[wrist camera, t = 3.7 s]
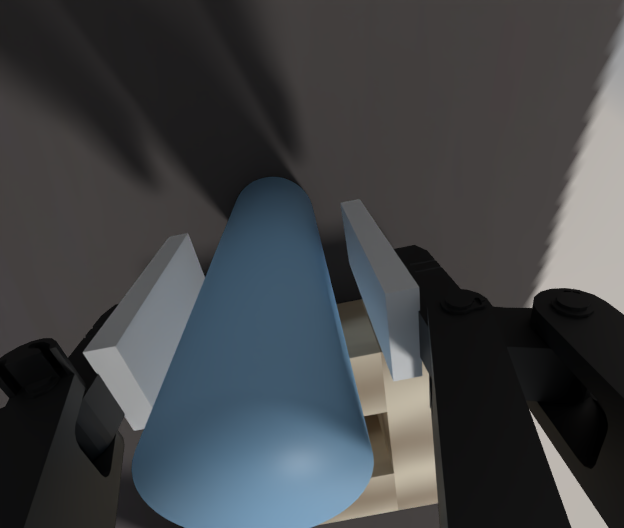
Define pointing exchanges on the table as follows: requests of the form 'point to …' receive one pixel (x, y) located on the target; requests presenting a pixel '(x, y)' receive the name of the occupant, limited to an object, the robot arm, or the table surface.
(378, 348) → the socket block
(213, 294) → the peg
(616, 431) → the robot arm
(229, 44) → the table surface
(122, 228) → the table surface
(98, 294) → the table surface
